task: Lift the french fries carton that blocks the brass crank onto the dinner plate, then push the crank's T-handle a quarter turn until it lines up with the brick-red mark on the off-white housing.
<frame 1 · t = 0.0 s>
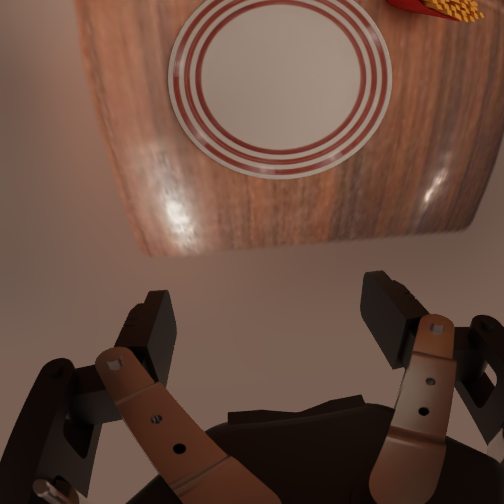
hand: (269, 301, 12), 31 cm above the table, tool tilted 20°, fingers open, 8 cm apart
dinner plate: (281, 77, 34), on the table
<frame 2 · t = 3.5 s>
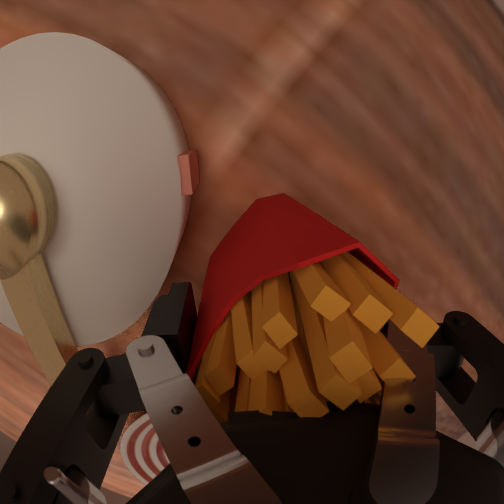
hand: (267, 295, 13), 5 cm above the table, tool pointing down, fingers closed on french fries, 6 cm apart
french fries: (256, 250, 17), on the table, touching gripper
dinner plate: (268, 447, 26), on the table
crank: (14, 347, 10), point 8 cm above the table, hinge at -90.0°
crank housing: (57, 186, 15), on the table
when the fingers open (8 cm above the table, at t = 10.1 s): french fries stays where it is, resting on dinner plate.
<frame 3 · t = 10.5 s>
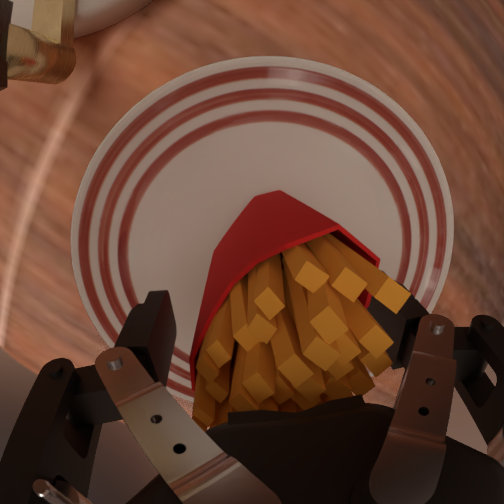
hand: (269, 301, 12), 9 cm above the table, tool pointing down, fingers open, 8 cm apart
french fries: (256, 243, 18), point 3 cm above the table, touching dinner plate
dinner plate: (269, 262, 23), on the table, touching french fries
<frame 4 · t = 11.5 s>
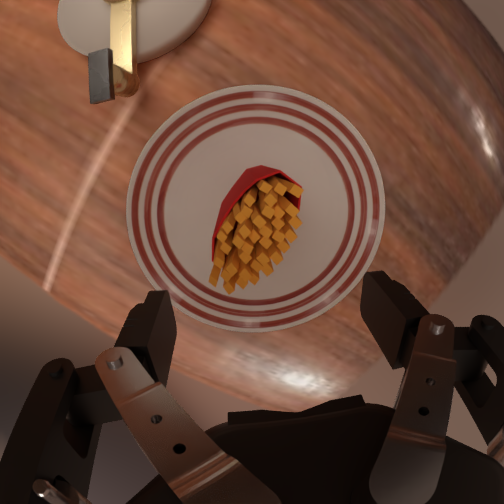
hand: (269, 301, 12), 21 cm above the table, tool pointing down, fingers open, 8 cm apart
french fries: (248, 198, 30), point 3 cm above the table, touching dinner plate
dinner plate: (256, 215, 34), on the table, touching french fries
crank: (113, 20, 18), point 8 cm above the table, hinge at -90.0°
crank housing: (138, 0, 23), on the table
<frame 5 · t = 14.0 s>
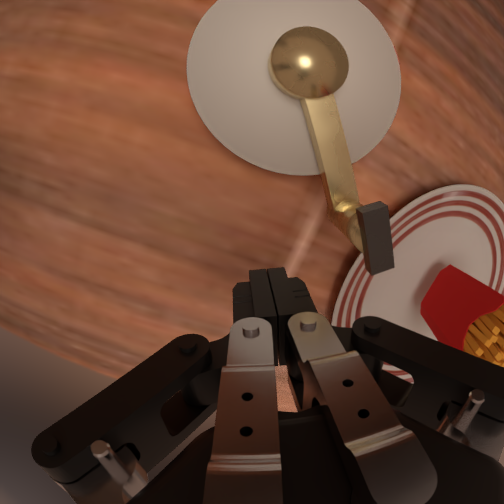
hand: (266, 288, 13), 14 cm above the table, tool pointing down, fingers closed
french fries: (438, 292, 29), point 3 cm above the table, touching dinner plate
dinner plate: (428, 291, 33), on the table, touching french fries
crank: (340, 138, 17), point 8 cm above the table, hinge at -90.0°
crank housing: (291, 75, 22), on the table
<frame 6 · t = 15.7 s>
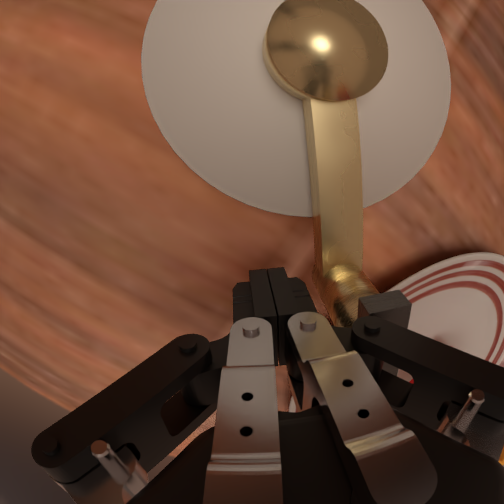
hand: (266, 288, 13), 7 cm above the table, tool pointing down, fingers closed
dinner plate: (416, 364, 27), on the table, touching french fries
crank: (355, 172, 11), point 8 cm above the table, hinge at -89.7°, touching gripper
crank housing: (298, 68, 16), on the table
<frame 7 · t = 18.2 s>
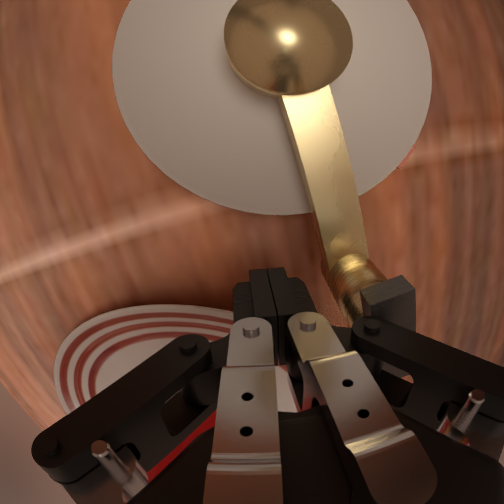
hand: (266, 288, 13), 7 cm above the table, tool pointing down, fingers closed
french fries: (198, 424, 23), point 3 cm above the table, touching dinner plate
dinner plate: (199, 406, 26), on the table, touching french fries
crank: (338, 162, 10), point 8 cm above the table, hinge at -37.0°, touching gripper
crank housing: (273, 65, 15), on the table
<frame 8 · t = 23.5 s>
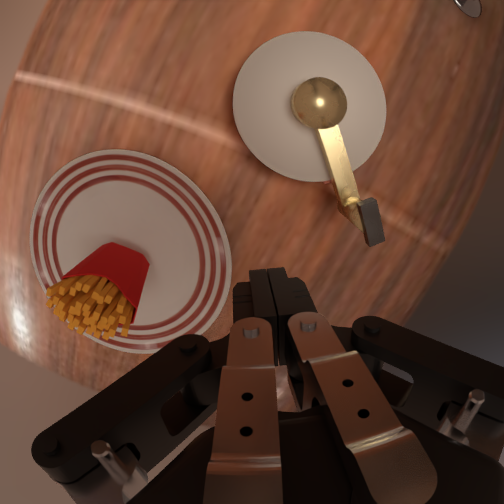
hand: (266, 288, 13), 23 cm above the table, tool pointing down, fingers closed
french fries: (122, 260, 34), point 3 cm above the table, touching dinner plate
dinner plate: (125, 255, 38), on the table, touching french fries
crank: (343, 156, 26), point 8 cm above the table, hinge at 5.3°
crank housing: (305, 106, 31), on the table
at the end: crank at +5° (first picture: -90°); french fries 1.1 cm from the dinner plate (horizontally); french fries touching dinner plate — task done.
